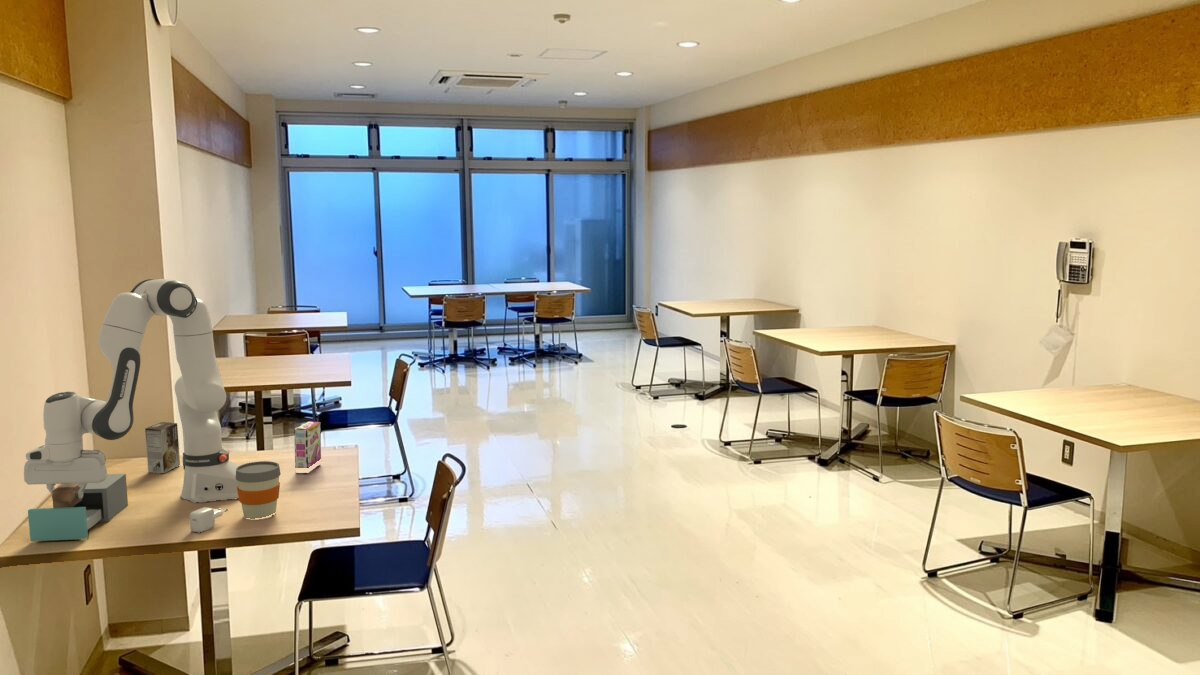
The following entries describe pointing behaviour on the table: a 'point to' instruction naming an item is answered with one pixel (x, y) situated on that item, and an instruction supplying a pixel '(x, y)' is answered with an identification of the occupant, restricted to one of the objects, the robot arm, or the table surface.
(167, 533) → the table surface
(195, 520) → the power adapter
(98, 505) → the gray drawer box
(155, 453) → the coffee box
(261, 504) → the reusable coffee cup
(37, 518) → the teal drawer
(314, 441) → the candy bar box
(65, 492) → the walnut block
